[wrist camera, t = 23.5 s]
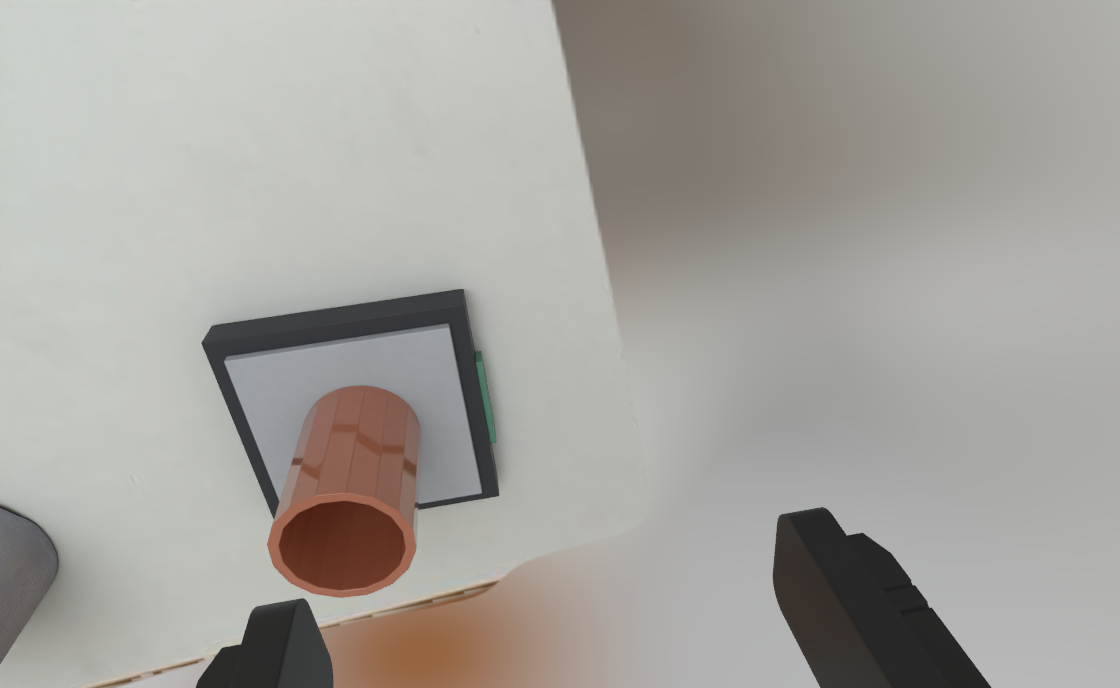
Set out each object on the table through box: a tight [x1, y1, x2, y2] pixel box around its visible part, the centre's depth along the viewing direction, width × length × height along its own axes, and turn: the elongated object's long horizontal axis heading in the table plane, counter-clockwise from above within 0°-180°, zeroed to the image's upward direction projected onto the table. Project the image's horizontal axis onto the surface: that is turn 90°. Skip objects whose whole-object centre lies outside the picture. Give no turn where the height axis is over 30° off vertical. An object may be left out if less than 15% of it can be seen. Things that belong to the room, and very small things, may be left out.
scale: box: [202, 289, 499, 519], centre depth 41 cm, size 14×14×3 cm
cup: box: [267, 386, 422, 598], centre depth 36 cm, size 7×7×9 cm
